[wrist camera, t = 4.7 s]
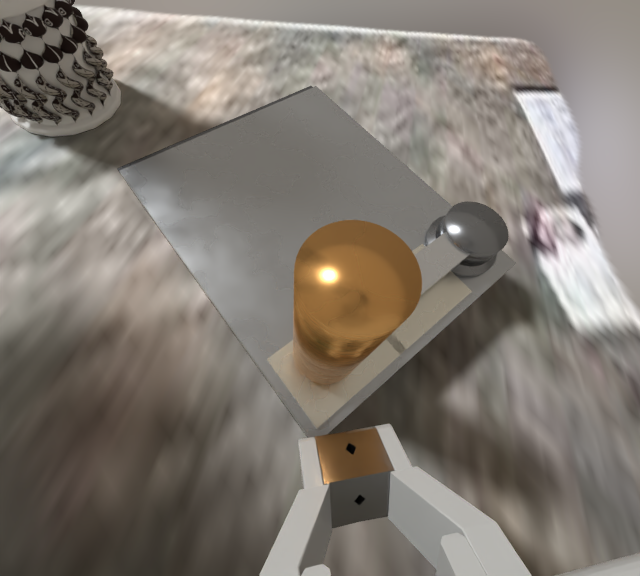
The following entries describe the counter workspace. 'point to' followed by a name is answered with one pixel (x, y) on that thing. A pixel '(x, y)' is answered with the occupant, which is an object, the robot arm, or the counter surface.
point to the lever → (375, 284)
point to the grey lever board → (296, 234)
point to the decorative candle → (52, 69)
